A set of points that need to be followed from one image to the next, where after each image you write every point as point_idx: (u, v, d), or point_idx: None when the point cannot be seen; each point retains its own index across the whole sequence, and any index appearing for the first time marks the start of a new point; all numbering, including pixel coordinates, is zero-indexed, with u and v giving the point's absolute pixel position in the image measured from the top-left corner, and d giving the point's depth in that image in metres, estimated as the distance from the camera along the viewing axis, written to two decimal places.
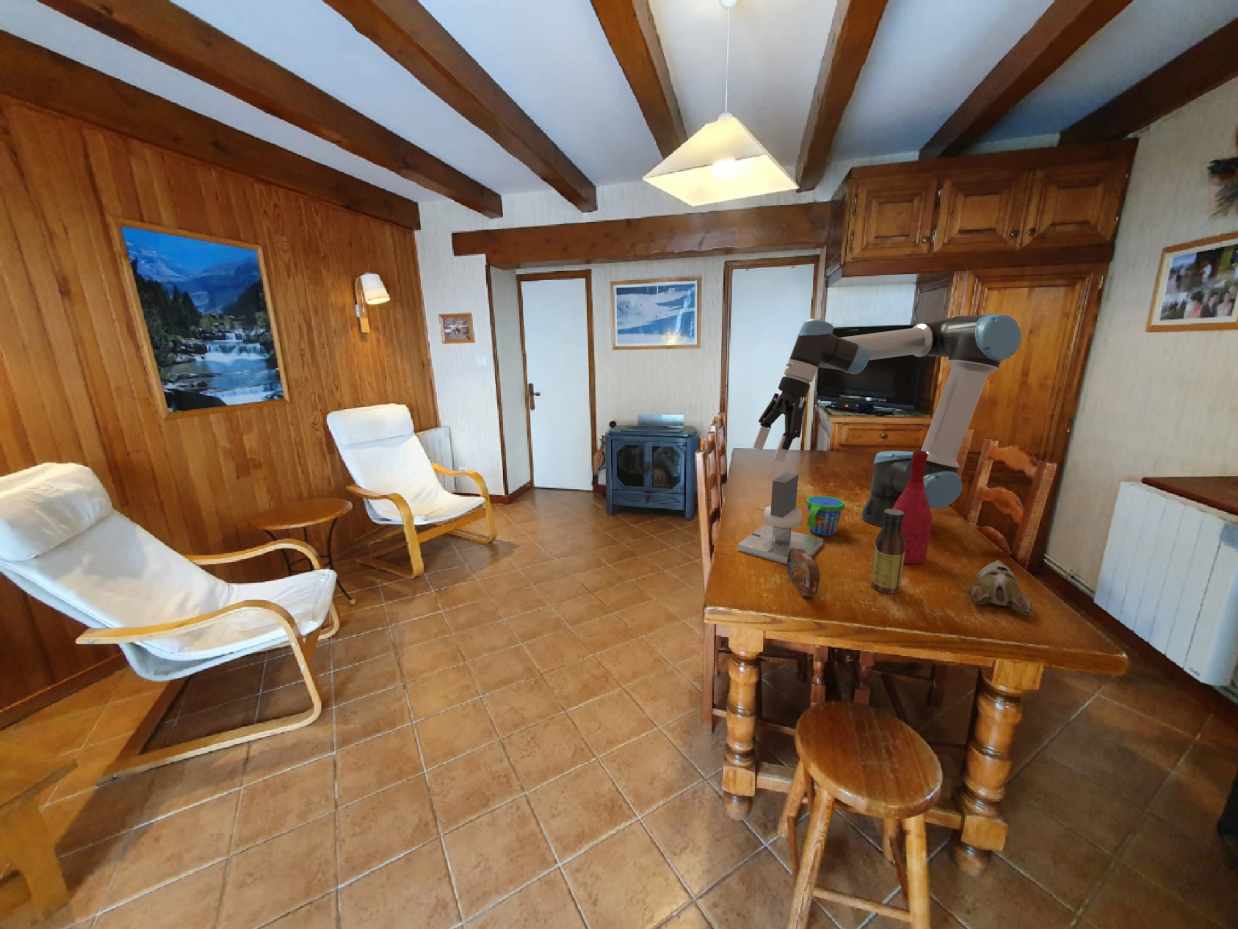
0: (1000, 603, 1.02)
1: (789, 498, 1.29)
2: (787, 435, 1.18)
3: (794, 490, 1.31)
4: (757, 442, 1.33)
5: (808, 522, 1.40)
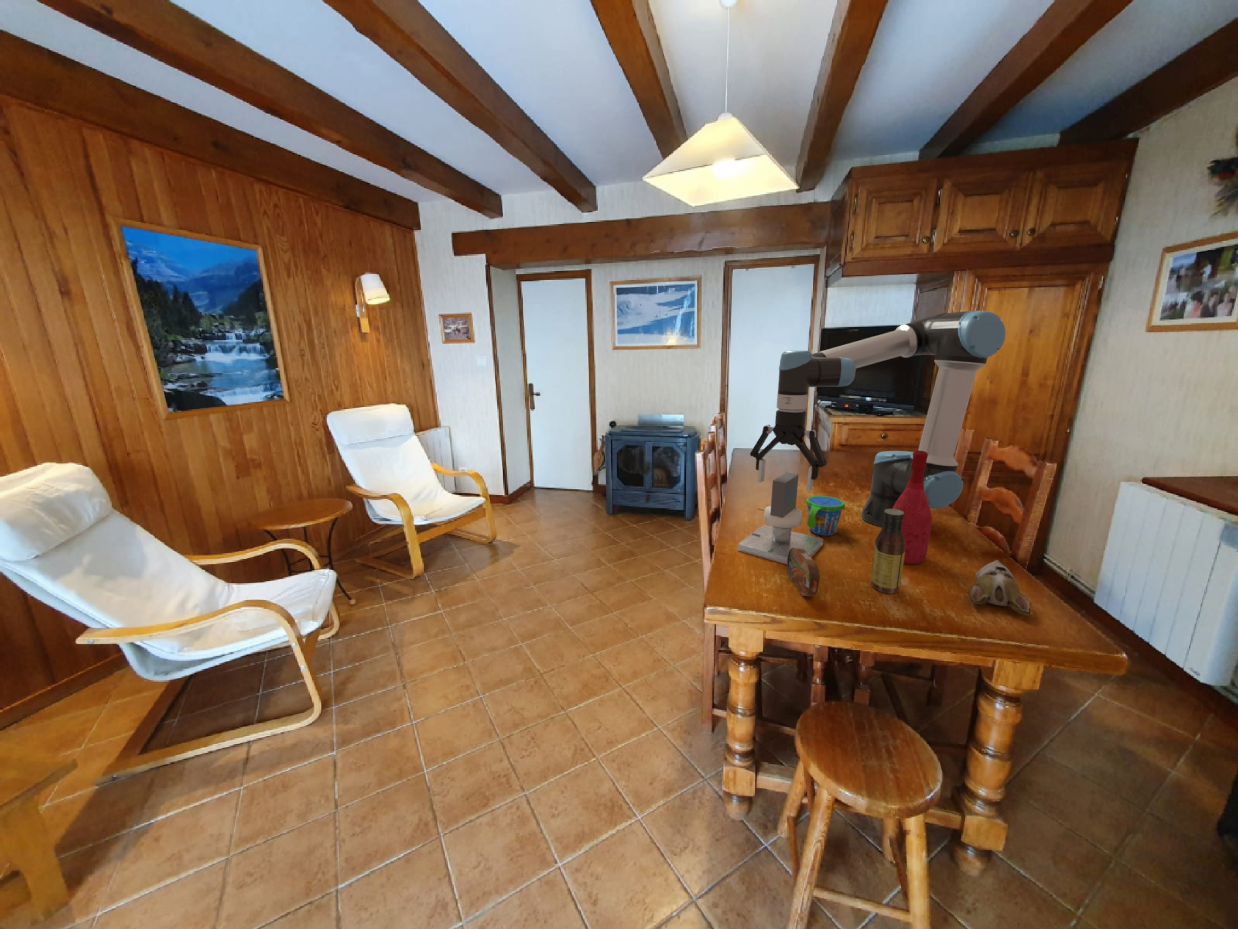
0: (999, 603, 1.02)
1: (789, 498, 1.29)
2: (816, 467, 1.22)
3: (794, 490, 1.31)
4: (761, 476, 1.32)
5: (808, 522, 1.40)
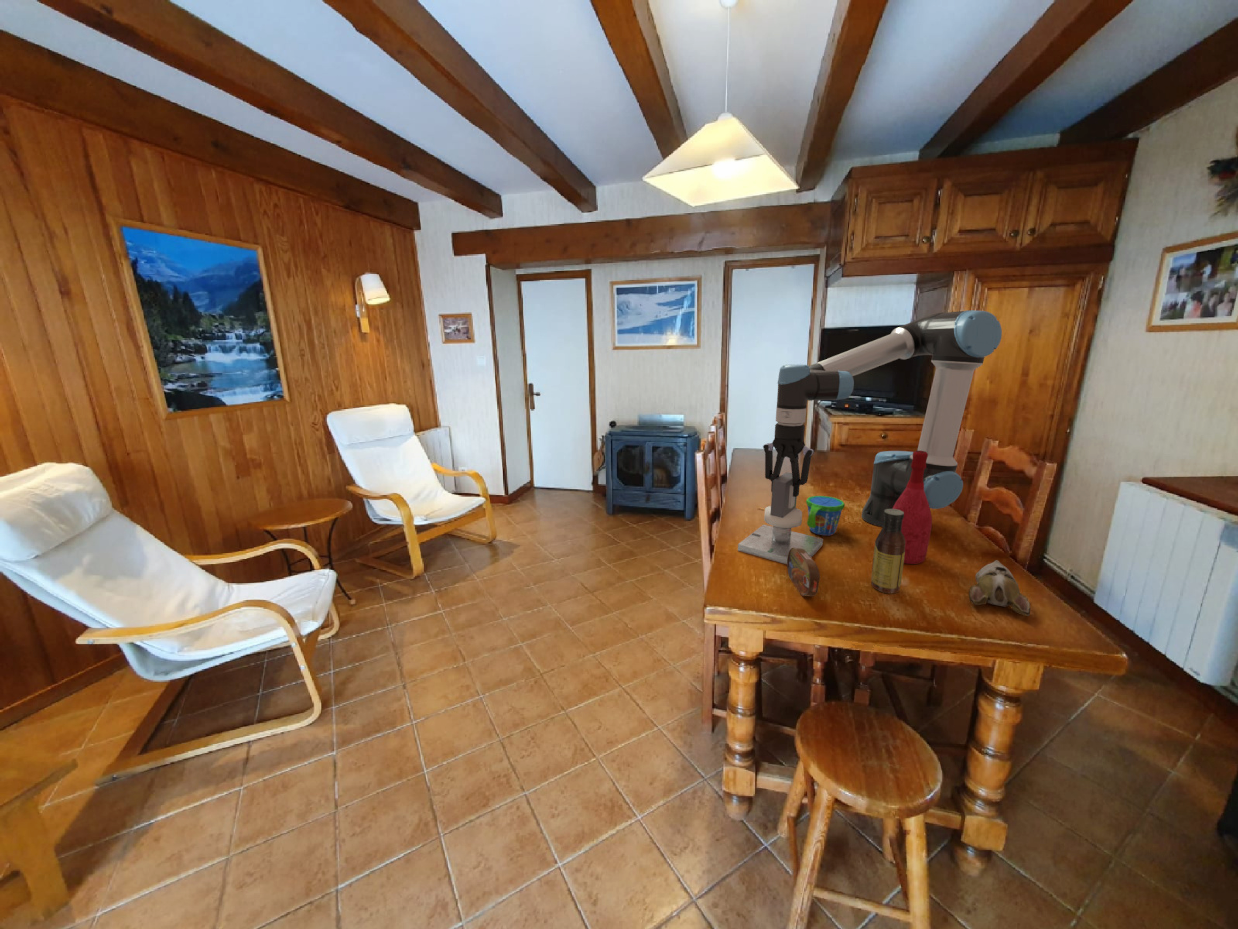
0: (999, 604, 1.02)
1: None
2: (796, 485, 1.27)
3: None
4: None
5: (808, 522, 1.40)
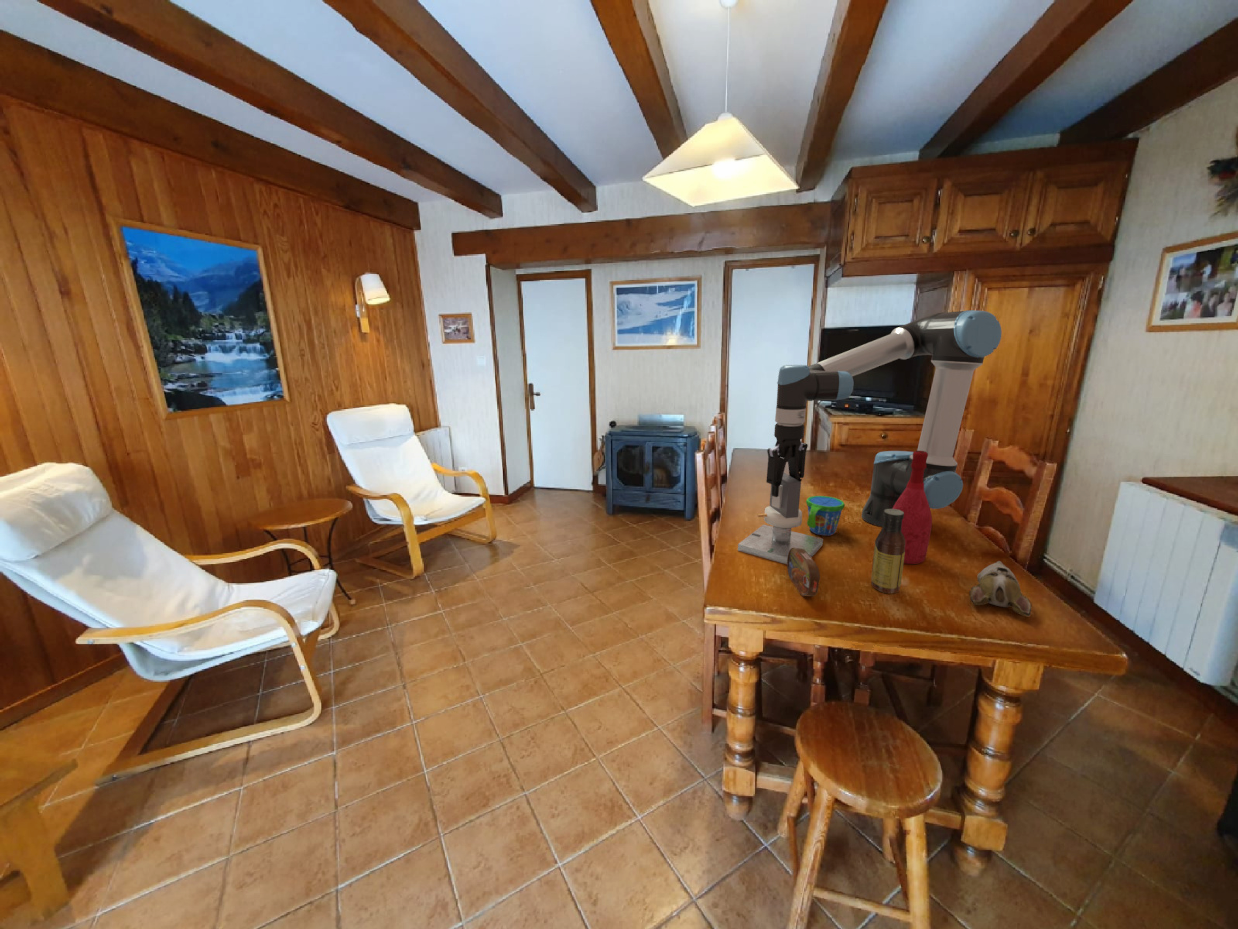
0: (1000, 604, 1.02)
1: None
2: None
3: None
4: None
5: (808, 522, 1.40)
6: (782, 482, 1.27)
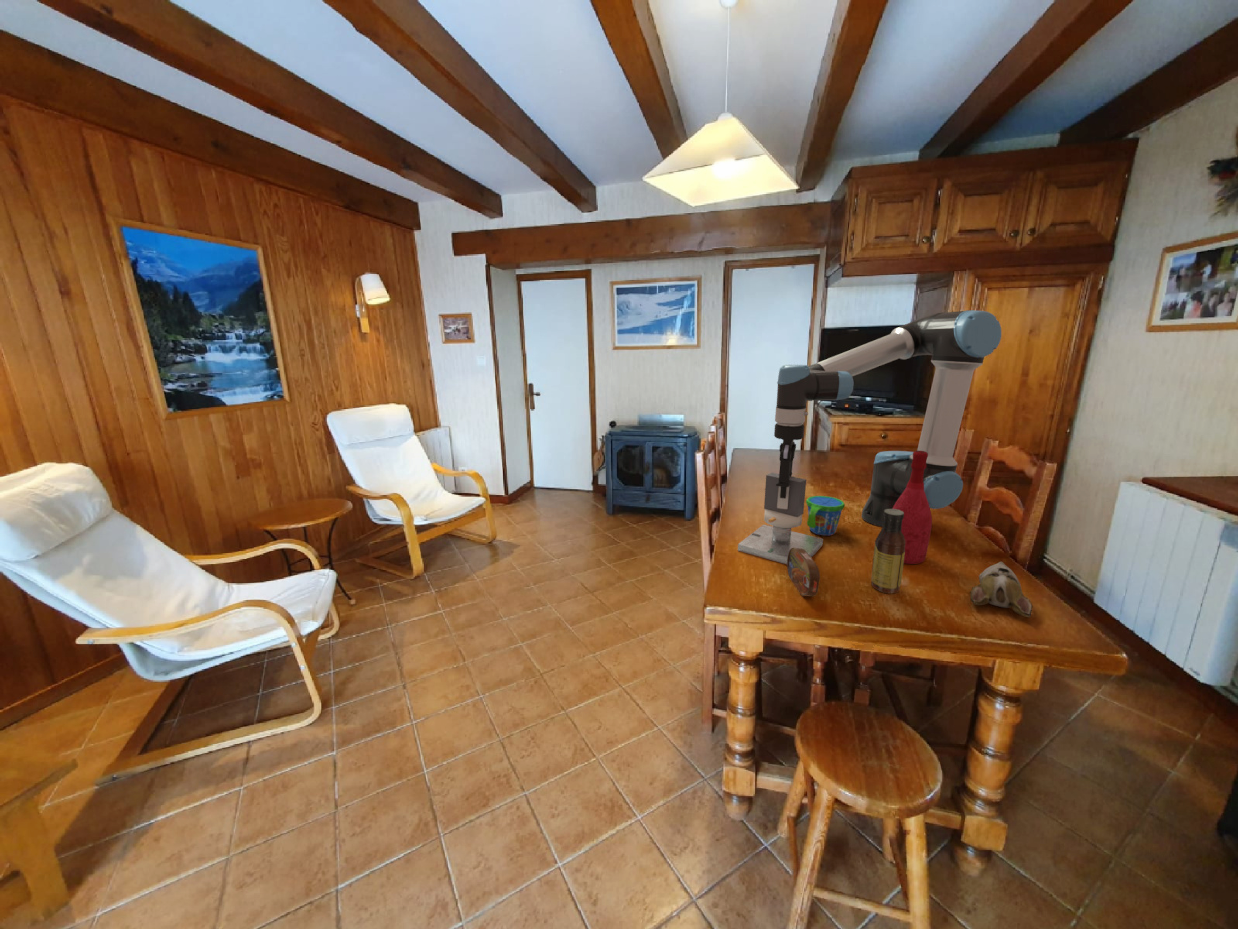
0: (1001, 605, 1.02)
1: None
2: None
3: None
4: None
5: (808, 522, 1.40)
6: None
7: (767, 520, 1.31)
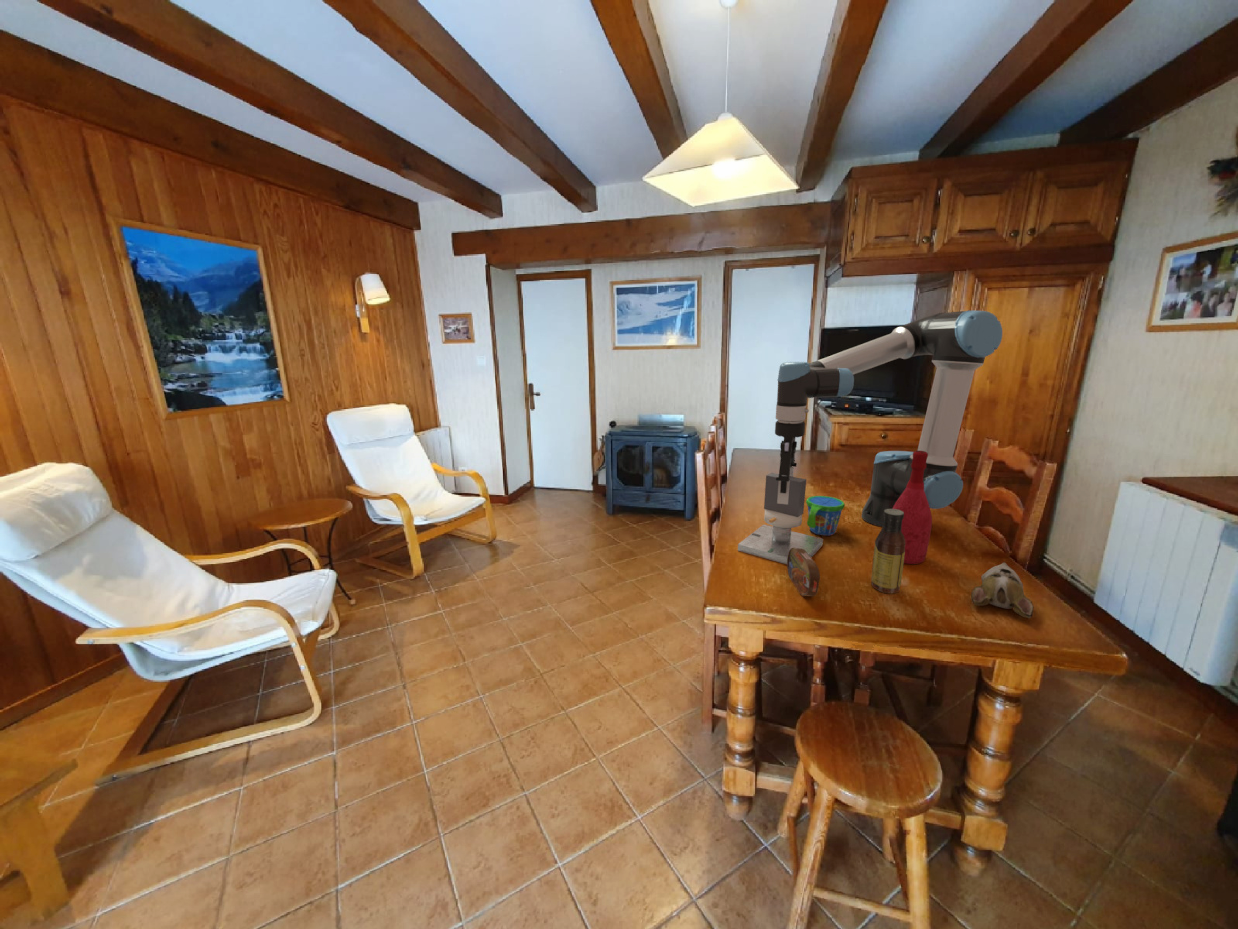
0: (1002, 605, 1.01)
1: None
2: None
3: None
4: None
5: (808, 522, 1.40)
6: None
7: (767, 520, 1.31)
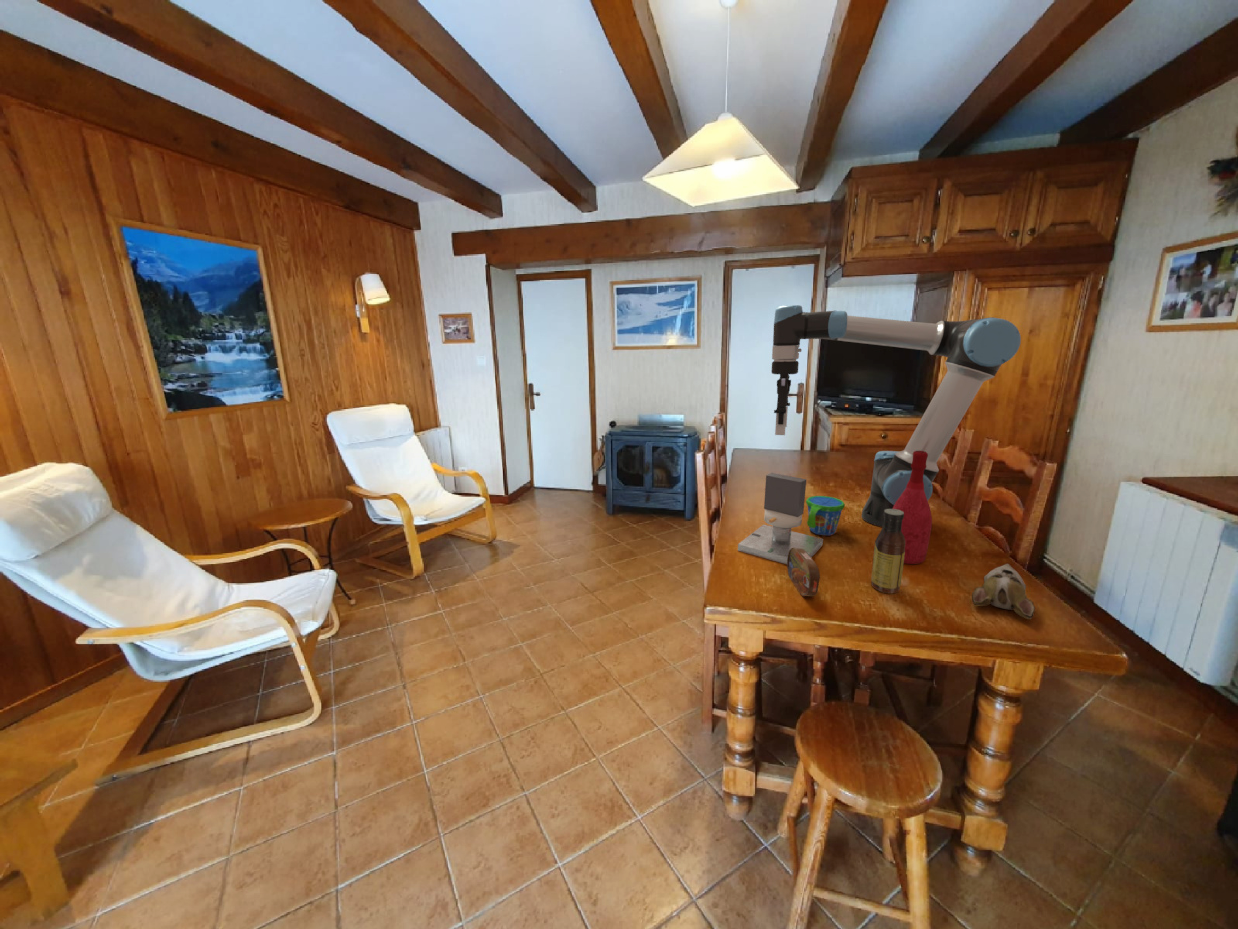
0: (1003, 606, 1.01)
1: None
2: None
3: None
4: None
5: (808, 522, 1.40)
6: (788, 483, 1.27)
7: (767, 520, 1.31)
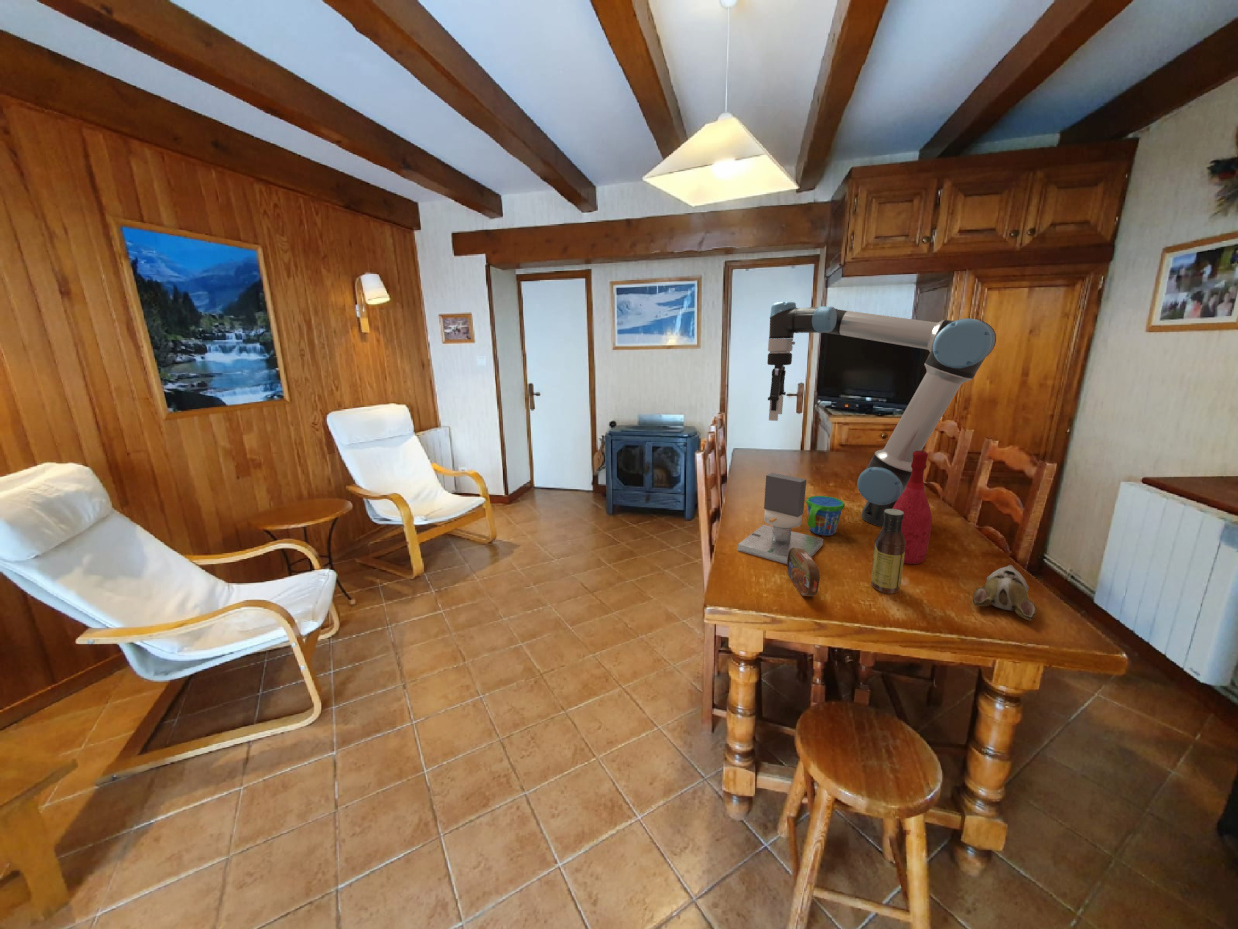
0: (1004, 607, 1.01)
1: None
2: None
3: None
4: None
5: (808, 522, 1.40)
6: (788, 483, 1.27)
7: (767, 520, 1.31)
